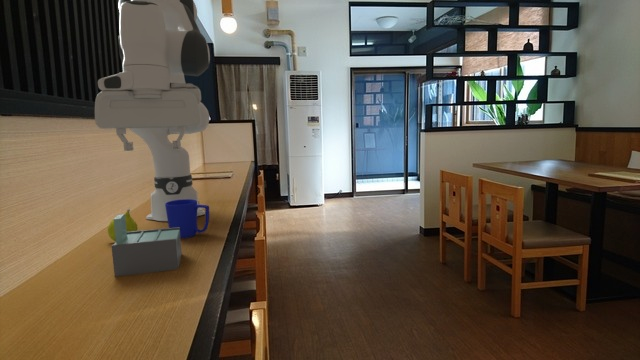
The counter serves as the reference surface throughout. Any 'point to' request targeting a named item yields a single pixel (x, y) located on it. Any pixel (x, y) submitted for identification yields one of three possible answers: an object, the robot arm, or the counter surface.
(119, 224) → the lid
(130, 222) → the pear
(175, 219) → the mug
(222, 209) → the counter surface
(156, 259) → the grey box
